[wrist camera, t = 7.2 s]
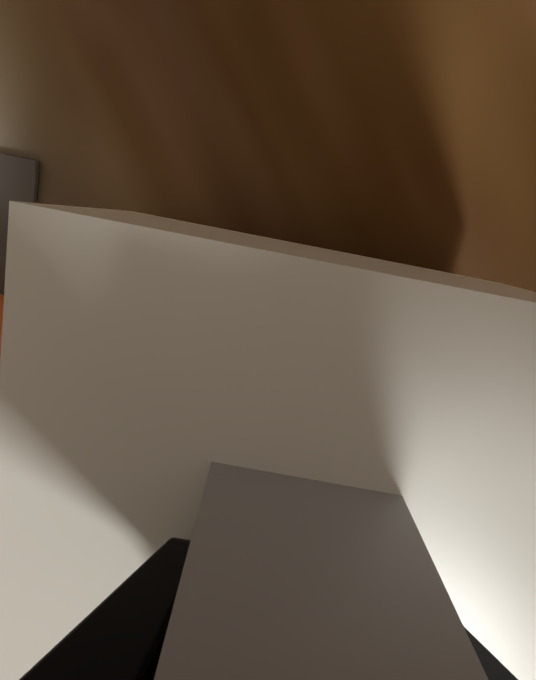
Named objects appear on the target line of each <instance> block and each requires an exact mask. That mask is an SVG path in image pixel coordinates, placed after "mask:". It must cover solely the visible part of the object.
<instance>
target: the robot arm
mask: <svg viewBox="0 0 536 680" xmlns="http://www.w3.org/2000/svg"><path fill="white" fill-rule="evenodd" d="M190 541H191V540H188V539H182V538H176V537H172V538H170V539H169V540H168V541H167V542H166V543H165V544H163V545H162V546H161V547H160V548H159V549H158V550H157V551H156V552H155V553H154V554H153V555H152V556H151V557H150V558H148V559H147V560H146V561H145V562H144V563H143V564H142V565H141V566H140V567H139V568H138V569H137V570H136V571H135V572H134V573H132V574H131V575H130V576H129V577H128V578H127V579H126V580H125V581H124V582H123V583H122V584H121V585H120V586H119V587H117V588H116V589H115V590H114V591H113V592H112V593H111V594H110V595H109V596H108V597H107V598H106V599H105V600H104V601H102V602H101V603H100V604H99V605H98V606H97V607H96V608H95V609H94V610H93V611H92V612H91V613H90V614H89V615H88V616H86V617H85V618H84V619H83V620H82V621H81V622H80V623H79V624H78V625H77V626H76V627H75V628H74V629H73V630H71V631H70V632H69V633H68V634H67V635H66V636H65V637H64V638H63V639H62V640H61V641H60V642H59V643H58V644H56V645H55V646H54V647H53V648H52V649H51V650H50V651H49V652H48V653H47V654H46V655H45V656H44V657H43V658H42V659H40V660H39V661H38V662H37V663H36V664H35V665H34V666H33V667H32V668H31V669H30V670H29V671H28V672H27V673H25V674H24V675H23V676H22V677H21V678H20V679H19V680H154V677H155V673H156V669H157V666H158V662H159V658H160V654H161V651H162V647H163V643H164V639H165V635H166V632H167V628H168V624H169V620H170V617H171V613H172V609H173V605H174V601H175V598H176V594H177V590H178V586H179V582H180V579H181V575H182V571H183V567H184V564H185V560H186V556H187V552H188V548H189V545H190ZM464 628H465V627H464ZM465 631H466V633H467V635H468V637H469V639H470V641H471V643H472V646H473V648H474V650H475V652H476V654H477V656H478V658H479V660H480V663H481V665H482V667H483V669H484V671H485V673H486V675H487V678H488V680H518V679H517V678H516V677H515V676H514V675H513V674H512V673H511V672H510V671H509V670H508V669H507V668H506V667H505V666H504V665H503V664H502V663H501V662H500V661H499V660H498V659H497V658H496V657H495V656H494V655H493V654H492V653H491V652H490V651H489V650H488V649H487V648H486V647H484V646H483V645H482V644H481V643H480V642H479V641H478V640H477V639H476V638H475V637H474V636H473V635H472V634H471V633H470V632H469V631H468V630H467V629H466V628H465Z"/></svg>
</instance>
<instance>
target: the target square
mask: <svg viewBox="0 0 536 680" xmlns="http://www.w3.org/2000/svg"><path fill="white" fill-rule="evenodd" d="M38 176H39V161H36V160H31V159H26V158H21V157H16V156H11V155H6V154H0V294H2V295H3V296H4V287H5V269H6V251H7V233H8V216H9V201H19V202H30V203H37V191H38Z"/></svg>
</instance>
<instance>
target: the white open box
mask: <svg viewBox="0 0 536 680" xmlns="http://www.w3.org/2000/svg"><path fill="white" fill-rule="evenodd" d="M172 537H176V538H182V539H188V540H191V541H190V545H189V548H188V552H187V556H186V560H185V564H184V567H183V571H182V575H181V579H180V582H179V586H178V590H177V594H176V598H175V601H174V605H173V609H172V613H171V617H170V620H169V624H168V628H167V632H166V635H165V639H164V643H163V647H162V651H161V654H160V658H159V662H158V666H157V669H156V673H155V677H154V680H488V678H487V675H486V673H485V671H484V669H483V667H482V665H481V663H480V660H479V658H478V656H477V654H476V652H475V650H474V648H473V646H472V643H471V641H470V639H469V637H468V635H467V633H466V631H465V628H466V629H467V630H468V631H469V632H470V633H471V634H472V635H473V636H474V637H475V638H476V639H477V640H478V641H479V642H480V643H481V644H482V645H483V646H484V647H486V648H487V649H488V650H489V651H490V652H491V653H492V654H493V655H494V656H495V657H496V658H497V659H498V660H499V661H500V662H501V663H502V664H503V665H504V666H505V667H506V668H507V669H508V670H509V671H510V672H511V673H512V674H513V675H514V676H515V677H516V678H517V679H518V680H536V292H534V291H530V290H526V289H523V288H519V287H515V286H511V285H507V284H504V283H500V282H494V281H489V280H484V279H479V278H474V277H469V276H464V275H458V274H453V273H448V272H443V271H438V270H433V269H428V268H422V267H417V266H412V265H407V264H402V263H397V262H392V261H386V260H381V259H376V258H371V257H366V256H361V255H356V254H351V253H345V252H340V251H335V250H330V249H325V248H320V247H315V246H309V245H304V244H299V243H294V242H289V241H284V240H279V239H273V238H268V237H263V236H258V235H253V234H248V233H243V232H237V231H232V230H227V229H222V228H217V227H212V226H207V225H201V224H196V223H191V222H186V221H181V220H176V219H171V218H166V217H160V216H155V215H150V214H145V213H140V212H135V211H125V210H114V209H102V208H90V207H78V206H66V205H54V204H42V203H30V202H19V201H9V216H8V233H7V251H6V269H5V287H4V305H3V323H2V340H1V358H0V680H19V679H20V678H21V677H22V676H23V675H24V674H25V673H27V672H28V671H29V670H30V669H31V668H32V667H33V666H34V665H35V664H36V663H37V662H38V661H39V660H40V659H42V658H43V657H44V656H45V655H46V654H47V653H48V652H49V651H50V650H51V649H52V648H53V647H54V646H55V645H56V644H58V643H59V642H60V641H61V640H62V639H63V638H64V637H65V636H66V635H67V634H68V633H69V632H70V631H71V630H73V629H74V628H75V627H76V626H77V625H78V624H79V623H80V622H81V621H82V620H83V619H84V618H85V617H86V616H88V615H89V614H90V613H91V612H92V611H93V610H94V609H95V608H96V607H97V606H98V605H99V604H100V603H101V602H102V601H104V600H105V599H106V598H107V597H108V596H109V595H110V594H111V593H112V592H113V591H114V590H115V589H116V588H117V587H119V586H120V585H121V584H122V583H123V582H124V581H125V580H126V579H127V578H128V577H129V576H130V575H131V574H132V573H134V572H135V571H136V570H137V569H138V568H139V567H140V566H141V565H142V564H143V563H144V562H145V561H146V560H147V559H148V558H150V557H151V556H152V555H153V554H154V553H155V552H156V551H157V550H158V549H159V548H160V547H161V546H162V545H163V544H165V543H166V542H167V541H168V540H169V539H170V538H172ZM464 627H465V628H464Z"/></svg>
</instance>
